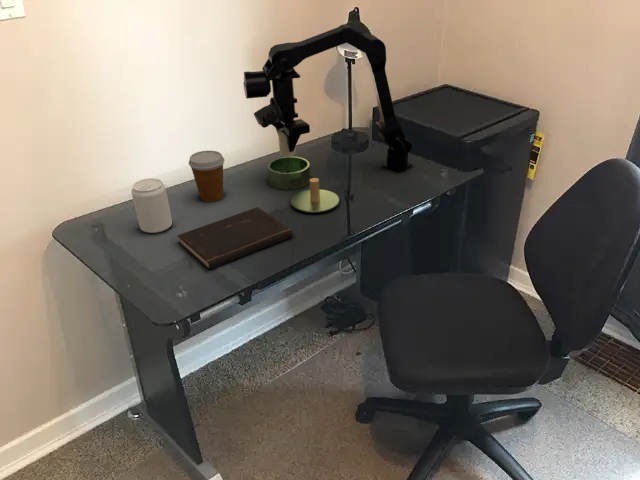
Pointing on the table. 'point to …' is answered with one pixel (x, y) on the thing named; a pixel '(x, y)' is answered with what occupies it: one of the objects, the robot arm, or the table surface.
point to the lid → (315, 199)
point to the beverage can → (151, 205)
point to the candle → (284, 145)
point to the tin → (289, 173)
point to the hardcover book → (234, 237)
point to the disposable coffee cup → (208, 174)
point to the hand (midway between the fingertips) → (287, 148)
